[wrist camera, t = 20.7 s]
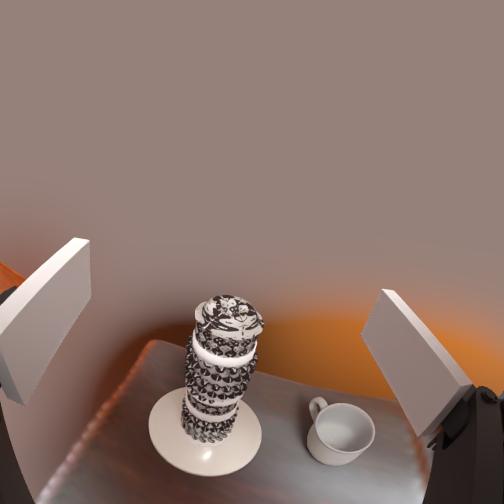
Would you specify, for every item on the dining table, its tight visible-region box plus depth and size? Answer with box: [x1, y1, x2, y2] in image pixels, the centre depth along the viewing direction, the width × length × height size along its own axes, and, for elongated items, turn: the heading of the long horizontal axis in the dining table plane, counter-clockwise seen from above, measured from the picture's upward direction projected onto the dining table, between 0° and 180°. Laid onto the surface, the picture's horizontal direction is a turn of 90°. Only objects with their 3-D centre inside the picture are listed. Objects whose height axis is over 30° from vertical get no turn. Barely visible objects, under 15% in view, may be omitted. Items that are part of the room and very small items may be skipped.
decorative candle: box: [181, 295, 264, 447], centre depth 38 cm, size 9×9×25 cm
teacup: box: [307, 397, 375, 466], centre depth 42 cm, size 14×11×8 cm
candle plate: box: [149, 387, 262, 477], centre depth 43 cm, size 19×19×1 cm
